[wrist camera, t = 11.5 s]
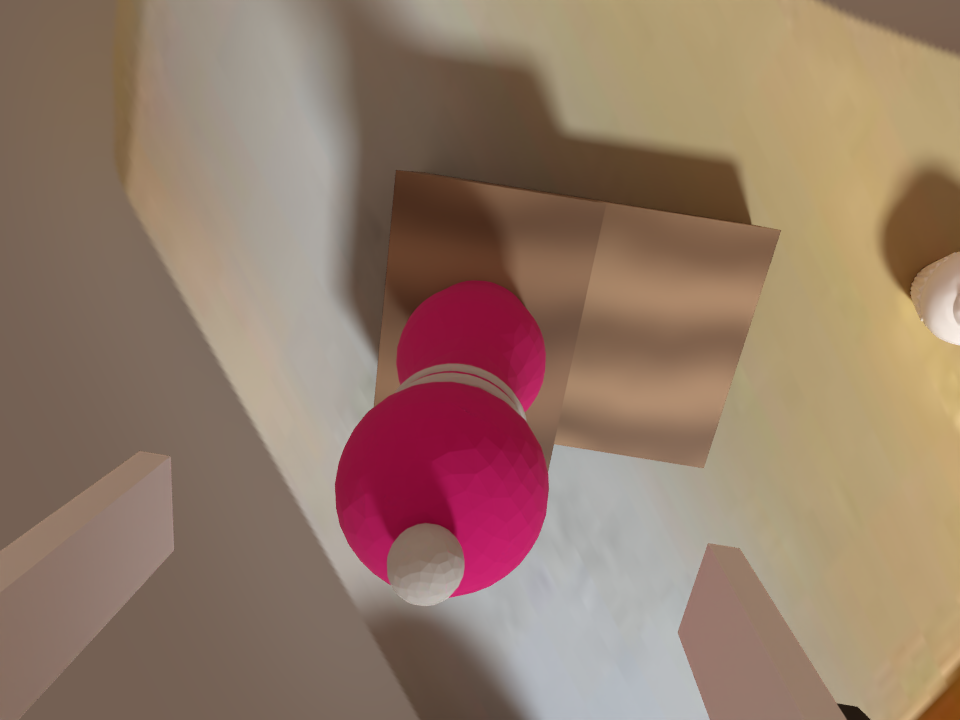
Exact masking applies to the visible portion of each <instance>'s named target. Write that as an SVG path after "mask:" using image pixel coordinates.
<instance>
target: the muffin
mask: <svg viewBox="0 0 960 720" xmlns="http://www.w3.org/2000/svg"><path fill="white" fill-rule="evenodd" d="M911 284H912V287H911V288H910V289H911V292H910V294H911V299H912V301H913V304H914V306H915V309H916V311H917V313H918V315H919V318H920V320H921V321H923V322H924V324H925V326H927V327H928V329H929V330H930V331H931V332H932V333H933V334H934V335H935V336H937V337H938V338H940V339H942V340H944V341H946V342H949V343H952V344H956V345H960V251H959V252H957V253H956V252H954V253H952V254H950V255H948V256H946V257H944V258H942V259H940V260H938V261H936V262H934V263H931V264H930V265H928V266H926V267H925V268H924V269H921V272H920V273H917V276H916V277H915V278H914V282H913V283H911Z"/></svg>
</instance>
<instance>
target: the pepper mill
mask: <svg viewBox="0 0 960 720" xmlns="http://www.w3.org/2000/svg"><path fill="white" fill-rule="evenodd" d="M545 364H546V351H545V344H544V339H543V336H542V333H541V330H540V328H539V326H538V324H537V322H536V321H535V319H534V317H533V316H532V315H531V314H530V312H529V311H528V310H527V309H526V307H525V306H523V304H522V303H521V301H520V300H519V299H518V298H517V297H516V296H515V295H514V294H513V293H512V292H510V291H509V290H507V289H506V288H504V287H502V286H500V285H497V284H495V283H492V282H488V281H477V280H471V281H465V282H460V283H457V284H455V285H452V286H450V287H448V288H447V289H444V290H442V291H440V292H438V293H436V294H434V295H432V296H431V297H429V298H428V299H426V300H425V301H424V302H422V303H421V304H420V305H419V306H418V307H417V308H416V309H415V311H414V312H413V313H412V315H411V316H410V317H409V319H408V321H407V323H406V325H405V327H404V329H403V331H402V334H401V337H400V340H399V343H398V346H397V358H396V366H397V372H398V379H399V382H400V386H399V387H398V388H397V390H396V391H395V393H394V394H392V395H390V396H388V397H387V398H385V399H384V400H383V401H382V402H380V403H379V404H378V405H376V406H375V407H374V408H372V409H371V410H370V411H369V412H368V413H367V414H366V415H365V416H364V417H363V418H362V420H361V421H360V422H359V424H358V425H357V426H356V427H355V429H354V430H353V432H352V434H351V436H350V438H349V440H348V442H347V444H346V445H345V447H344V450H343V453H342V455H341V458H340V461H339V465H338V471H337V476H336V482H335V493H336V509H337V514H338V518H339V523H340V527H341V529H342V531H343V533H344V535H345V537H346V539H347V542H348V544H349V546H350V547H351V548H352V550H353V551H354V552H355V554H356V555H357V557H358V558H359V559H360V561H361V562H362V563H363V564H364V565H365V566H366V567H368V568H369V569H370V570H371V571H372V572H373V573H374V574H375V575H377V576H378V577H380V578H381V579H382V580H384V581H385V582H387V583H388V584H390V585H391V586H392V588H393V590H394V591H395V592H396V593H397V594H398V595H399V596H400V597H401V598H402V599H403V600H404V601H406V602H408V603H410V604H413V605H421V606H430V605H436V604H438V603H440V602H442V601H444V600H446V599H447V598H450V597H455V596H460V595H464V594H469V593H473V592H476V591H479V590H481V589H484V588H486V587H489V586H491V585H492V584H494V583H496V582H497V581H499V580H500V579H502V578H504V577H505V576H506V575H508V574H509V573H510V572H511V571H512V570H514V569H515V568H516V567H517V566H518V565H519V564H520V563H521V562H522V560H523V559H524V558H525V556H526V555H527V554H528V552H529V551H530V550H531V548H532V547H533V545H534V543H535V541H536V540H537V538H538V536H539V533H540V531H541V528H542V525H543V522H544V519H545V516H546V509H547V500H548V491H549V483H548V471H547V466H546V461H545V458H544V454H543V451H542V448H541V446H540V444H539V442H538V440H537V439H536V437H535V435H534V434H533V432H532V430H531V429H530V427H529V425H528V423H527V420H526V415H525V412H526V411H527V410H528V408H529V407H530V406H531V404H532V403H533V401H534V400H535V398H536V397H537V395H538V393H539V391H540V388H541V386H542V384H543V379H544V373H545Z"/></svg>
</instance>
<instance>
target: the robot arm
mask: <svg viewBox="0 0 960 720" xmlns="http://www.w3.org/2000/svg"><path fill="white" fill-rule="evenodd" d="M171 476H172V475H171V456H168V455H161V454H155V453H149V452H143V451H139V452H137V453H136V454H135V455H133V456H132V457H131V458H129V459H128V460H126V461H125V462H124V463H122V464H121V465H120V466H118V467H117V468H115V469H114V470H113V471H111V472H110V473H108V474H107V475H105V476H104V477H103V478H101V479H100V480H99V481H97V482H96V483H95V484H93V485H92V486H90V487H89V488H87V489H86V490H85V491H83V492H82V493H81V494H79V495H78V496H76V497H75V498H74V499H72V500H71V501H69V502H68V503H67V504H65V505H64V506H62V507H61V508H60V509H58V510H57V511H55V512H54V513H53V514H51V515H50V516H49V517H47V518H46V519H44V520H43V521H42V522H40V523H39V524H37V525H36V526H35V527H33V528H32V529H31V530H29V531H28V532H26V533H25V534H24V535H22V536H21V537H19V538H18V539H17V540H15V541H14V542H12V543H11V544H10V545H8V546H7V547H5V548H4V549H3V550H1V551H0V720H19V719H20V717H21V716H22V715H23V714H24V713H25V712H26V711H27V710H28V709H29V708H30V707H31V705H32V704H33V703H34V702H35V701H36V700H37V699H38V698H39V697H40V696H41V695H42V694H43V692H44V691H45V690H46V689H47V688H48V687H49V686H50V685H51V684H52V683H53V682H54V680H55V679H56V678H57V677H58V676H59V675H60V674H61V673H62V672H63V671H64V670H65V668H66V667H67V666H68V665H69V664H70V663H71V662H72V661H73V660H74V659H75V657H77V655H78V654H79V653H80V652H81V651H82V650H83V649H84V648H85V647H86V646H87V645H88V643H89V642H90V641H91V640H92V639H93V638H94V637H95V636H96V635H97V634H98V633H99V631H100V630H101V629H102V628H103V627H104V626H105V625H106V623H108V622H109V620H111V618H112V617H113V616H114V615H115V614H116V613H117V612H118V611H119V610H120V609H121V608H122V606H123V605H124V604H125V603H126V602H127V601H128V600H129V599H130V598H131V596H132V595H133V594H134V593H135V592H136V591H137V590H138V589H139V588H140V587H141V586H142V585H143V583H145V581H146V580H147V579H148V578H149V577H150V576H151V575H152V574H153V573H154V572H155V570H156V569H157V568H158V567H159V566H160V565H161V564H162V563H163V561H165V560H166V558H167V557H168V556H169V555H170V554H171V553H172V552H173V551H174V529H173V505H172V504H173V502H172V477H171ZM678 634H679V637H680V640H681V643H682V645H683V648H684V651H685V653H686V656H687V659H688V661H689V664H690V667H691V670H692V672H693V675H694V678H695V680H696V683H697V686H698V688H699V691H700V694H701V697H702V699H703V702H704V705H705V707H706V710H707V713H708V715H709V718H710V720H870V719H869V718H868V717H867V716H866V715H865V714H864V713H863V712H862V711H861V710H860V709H859V708H858V707H855V706H849V705H843V704H837V703H836V702H835V700H834V698H833V697H832V695H831V694H830V692H829V690H828V689H827V687H826V686H825V684H824V682H823V681H822V679H821V678H820V676H819V674H818V673H817V671H816V670H815V668H814V666H813V665H812V663H811V662H810V660H809V658H808V657H807V655H806V654H805V652H804V650H803V649H802V647H801V646H800V644H799V642H798V641H797V639H796V638H795V636H794V634H793V633H792V631H791V630H790V628H789V626H788V625H787V623H786V622H785V620H784V618H783V617H782V615H781V614H780V612H779V610H778V609H777V607H776V606H775V604H774V602H773V601H772V599H771V598H770V596H769V594H768V593H767V591H766V590H765V588H764V586H763V585H762V583H761V582H760V580H759V578H758V577H757V575H756V574H755V572H754V570H753V569H752V567H751V566H750V564H749V562H748V561H747V559H746V558H745V556H744V554H743V553H742V551H741V550H740V548H735V547H728V546H722V545H716V544H710V543H708V545H707V548H706V551H705V554H704V557H703V560H702V563H701V566H700V568H699V571H698V574H697V577H696V580H695V583H694V586H693V589H692V592H691V595H690V598H689V601H688V604H687V607H686V609H685V612H684V615H683V618H682V621H681V624H680V627H679V630H678Z"/></svg>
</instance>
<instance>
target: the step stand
mask: <svg viewBox="0 0 960 720" xmlns="http://www.w3.org/2000/svg"><path fill="white" fill-rule="evenodd" d="M780 232H781V230H777V229H772V228H766V227H761V226H756V225H751V224H744V223H738V222H732V221H725V220H719V219H713V218H706V217H700V216H694V215H688V214H681V213H675V212H669V211H662V210H656V209H650V208H644V207H637V206H631V205H625V204H618V203H612V202H606V201H600V200H593V199H587V198H581V197H574V196H568V195H562V194H556V193H549V192H543V191H537V190H530V189H524V188H518V187H511V186H505V185H499V184H493V183H486V182H480V181H474V180H467V179H461V178H455V177H449V176H442V175H436V174H430V173H423V172H413V171H399V170H396V175H395V186H394V197H393V207H392V218H391V229H390V239H389V250H388V261H387V272H386V282H385V293H384V304H383V314H382V325H381V336H380V346H379V357H378V368H377V379H376V389H375V400H374V407H375V406H376V405H378V404H379V403H380V402H382V401H383V400H384V399H385V398H387V397H388V396H390V395H392V394H394V393H395V391H396V390H397V388H398V387H399V386H400V382H399V379H398V372H397V366H396V358H397V346H398V343H399V340H400V337H401V334H402V331H403V329H404V327H405V325H406V323H407V321H408V319H409V317H410V316H411V315H412V313H413V312H414V311H415V309H416V308H417V307H418V306H419V305H420V304H421V303H422V302H424V301H425V300H426V299H428V298H429V297H431V296H432V295H434V294H436V293H438V292H440V291H442V290H444V289H447V288H448V287H450V286H452V285H455V284H457V283H460V282H465V281H471V280H477V281H488V282H492V283H495V284H497V285H500V286H502V287H504V288H506V289H507V290H509V291H510V292H512V293H513V294H514V295H515V296H516V297H517V298H518V299H519V300H520V301H521V303H522V304H523V306H525V307H526V309H527V310H528V311H529V312H530V314H531V315H532V316H533V317H534V319H535V321H536V322H537V324H538V326H539V328H540V330H541V333H542V336H543V339H544V344H545V351H546V364H545V373H544V379H543V384H542V386H541V388H540V391H539V393H538V395H537V397H536V398H535V400H534V401H533V403H532V404H531V406H530V407H529V408H528V410H527V411H526V412H525V415H526V420H527V423H528V425H529V427H530V429H531V430H532V432H533V434H534V435H535V437H536V439H537V440H538V442H539V444H540V446H541V448H542V451H543V454H544V458H545V461H546V466H547V471H548V469H549V464H550V460H551V455H552V451H553V446H554V444H557V445H563V446H569V447H576V448H582V449H588V450H594V451H600V452H607V453H613V454H619V455H625V456H631V457H637V458H644V459H650V460H656V461H662V462H668V463H675V464H681V465H687V466H693V467H699V468H704V466H705V463H706V459H707V456H708V453H709V450H710V447H711V444H712V441H713V438H714V435H715V432H716V429H717V426H718V423H719V420H720V416H721V413H722V410H723V407H724V404H725V401H726V398H727V395H728V392H729V389H730V386H731V383H732V380H733V376H734V373H735V370H736V367H737V364H738V361H739V358H740V355H741V352H742V349H743V346H744V343H745V340H746V337H747V333H748V330H749V327H750V324H751V321H752V318H753V315H754V312H755V309H756V306H757V303H758V300H759V297H760V293H761V290H762V287H763V284H764V281H765V278H766V275H767V272H768V269H769V266H770V263H771V260H772V257H773V254H774V250H775V247H776V244H777V241H778V238H779V235H780Z"/></svg>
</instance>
